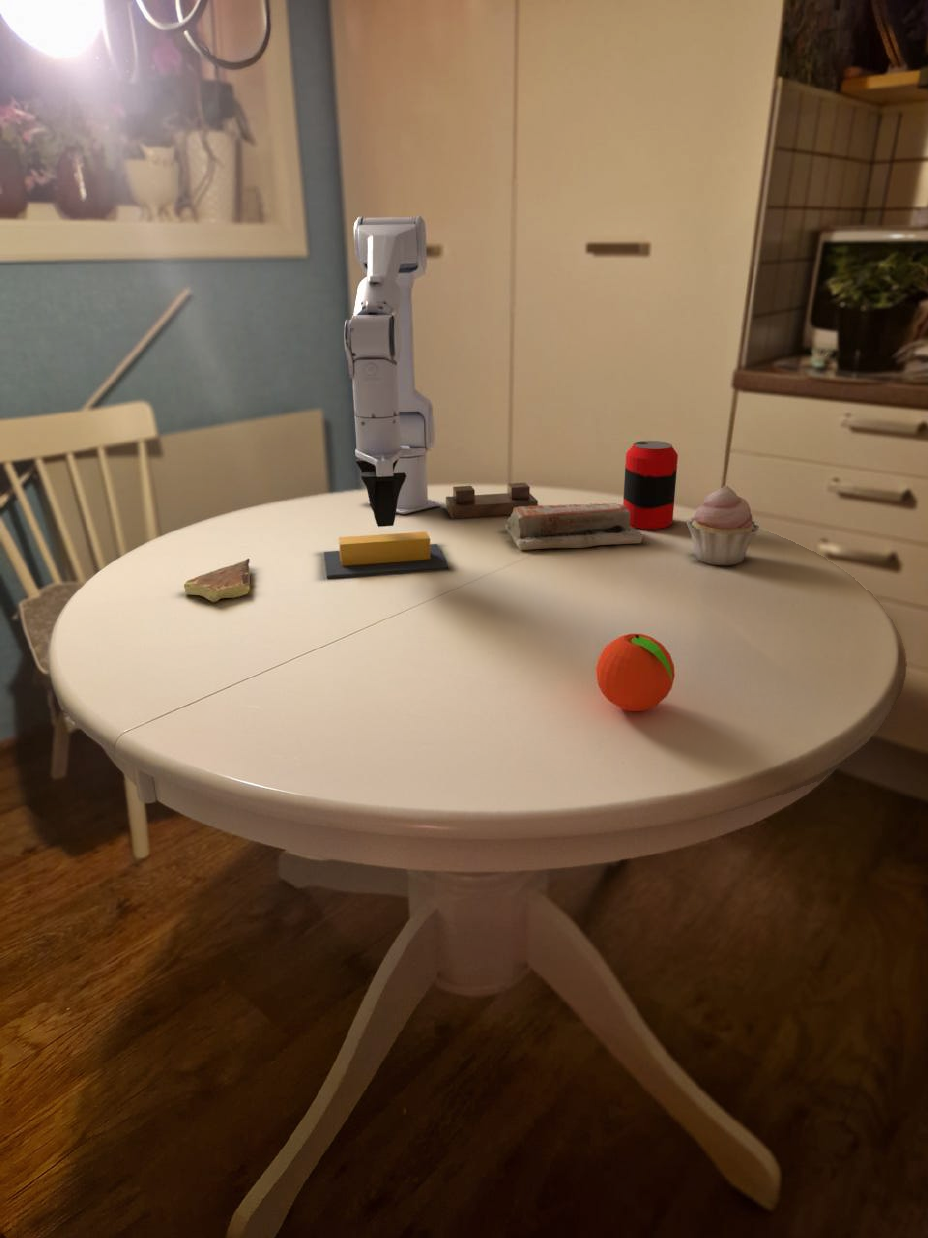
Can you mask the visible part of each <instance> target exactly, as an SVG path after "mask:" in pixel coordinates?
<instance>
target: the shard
mask: <svg viewBox="0 0 928 1238" xmlns="http://www.w3.org/2000/svg"><path fill="white" fill-rule="evenodd" d="M250 561H251V560H250V558H247V559H245V560H243V561H242V560H241V561H238V562H237V563H234V564H231V565H227V566H225V567H221V568H218V569H216V570H213V571H212V570H211V571H209V572H207V573H204V574H201V575H199V576H196V577H194V578H191V579H189V580H187V581H186V582H185V583H184V584H183V588H184V592H185V594H186V595H189V596H190V595H191V596H201V597H203V598H205V599H206V600H208V601H210V602H212V603H215V602H218V601H220V599H225V598H226V599H230V598H238V597H241V596H245V595H248V594H249V592H250V589H251V585H250V582H251V579H250V576H251V568H250Z"/></svg>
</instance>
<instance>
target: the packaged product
mask: <svg viewBox="0 0 928 1238" xmlns="http://www.w3.org/2000/svg"><path fill="white" fill-rule="evenodd" d="M629 523H630V512H629V511H628V510H627V508H626V506H625V505H623V504H620V503H615V502H609V503H605V502H602V503H580V504H578V503H573V504H571V503H570V504H546V505H545V504H544V505H538V506H520V507H515V508H514V509H513V513H512V514H511V515H510V516H509V518H508V523H506V524H505V528H506V531H507V533H508V534H509V536H510V537H511V539H512V540H513V542H514V544H515V545H516V546H517V548H518V549H519V551H527V550H528V551H529V550H543V549H582V548H583V549H584V548H589V547H594V546H605V545H607V546H608V545H628V544H641V542H642V538H643V533H642V532H641V531H640V530H639V529H638V528H633V527H632V526H631V525H629Z"/></svg>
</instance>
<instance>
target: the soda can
mask: <svg viewBox="0 0 928 1238" xmlns="http://www.w3.org/2000/svg"><path fill="white" fill-rule="evenodd" d="M678 458H679V454H678V453H677V451H676V449H675V448H674V447H673V445H672V444H671V443H669V442H666V441H657V440H643V441H637V442H636V441H635V442H634V443H632V446H630V448H629V449H628V450H627V451H626V453H625V462H624V465H625V466H624V483H623V484H624V485H623V499H622V505H625V506H626V508H627V510H628V511H629V512H630V523H629V525H631V526H632V527H633V528H635V529H637V530H639V529H640V530H661V529H665V528H668V527H670V526H671V525H672V524H673V522H674V521H673V520H674V510H675V509H674V508H675V495H676V485H677V484H676V482H677V471H678V460H679V459H678Z"/></svg>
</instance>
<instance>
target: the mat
mask: <svg viewBox="0 0 928 1238" xmlns="http://www.w3.org/2000/svg"><path fill="white" fill-rule="evenodd" d="M430 554H431V559H429V560H416V561H402V562H388V563H374V564H361V565H347V566H342V565H341V560H340V550H333V551H331V550H330V551H323V558H324V566H325V574H326V575H325V576H326V579H335V578H348V577H349V578H350V577H363V576H365V577H366V576H375V575H376V576H377V575H389V574H390V575H391V574H403V573H404V574H405V573H416V572H417V573H418V572H429V571H430V572H431V571H441V570H442V571H443V570H450V567H449V565H448V562H447V560H446V559H445V556H444V555H443V553H442V550H441V549H440V547H439V545H438V544H437V543H430Z"/></svg>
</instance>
